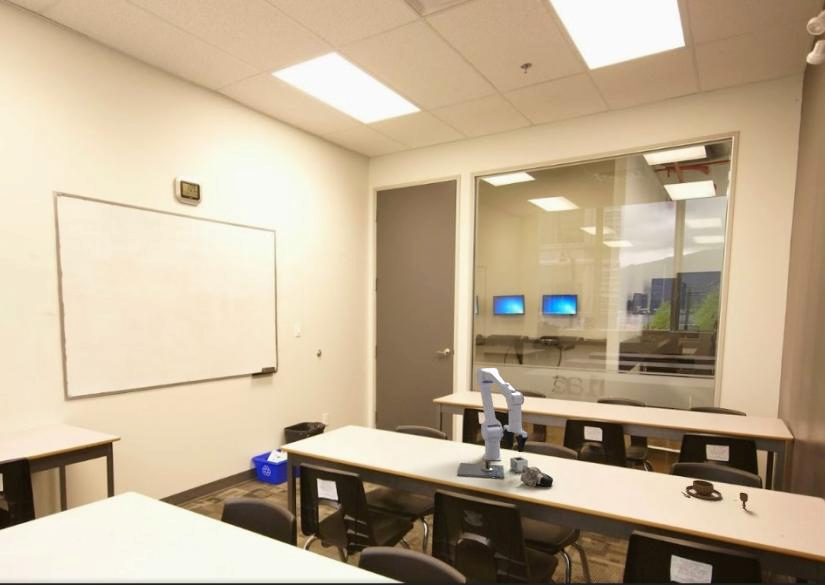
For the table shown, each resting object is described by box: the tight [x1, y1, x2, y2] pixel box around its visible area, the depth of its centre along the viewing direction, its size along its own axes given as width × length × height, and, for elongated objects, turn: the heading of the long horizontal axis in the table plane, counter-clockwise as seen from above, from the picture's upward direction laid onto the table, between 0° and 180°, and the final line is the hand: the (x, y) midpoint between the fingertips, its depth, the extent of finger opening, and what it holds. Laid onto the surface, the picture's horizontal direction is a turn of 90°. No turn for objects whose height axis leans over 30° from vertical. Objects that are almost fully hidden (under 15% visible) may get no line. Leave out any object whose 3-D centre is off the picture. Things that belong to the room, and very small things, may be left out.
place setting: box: [680, 479, 749, 510], centre depth 173 cm, size 18×20×6 cm
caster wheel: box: [519, 466, 554, 488], centre depth 188 cm, size 7×11×10 cm
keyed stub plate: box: [457, 460, 505, 479], centre depth 201 cm, size 14×20×4 cm
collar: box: [509, 456, 529, 474], centre depth 203 cm, size 6×6×5 cm
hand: (515, 449), depth 202 cm, fingers open, 7 cm apart
